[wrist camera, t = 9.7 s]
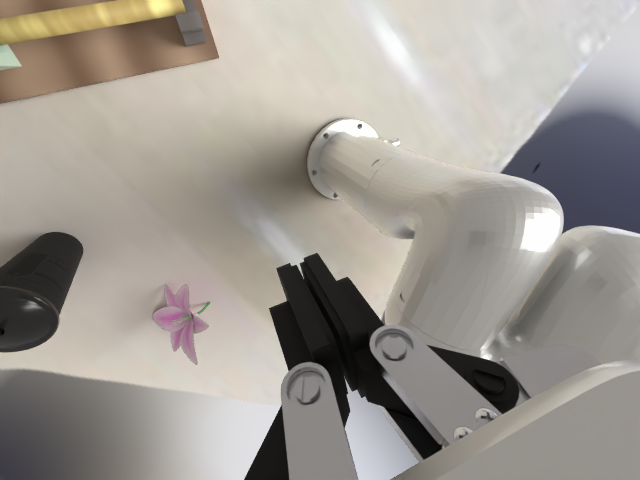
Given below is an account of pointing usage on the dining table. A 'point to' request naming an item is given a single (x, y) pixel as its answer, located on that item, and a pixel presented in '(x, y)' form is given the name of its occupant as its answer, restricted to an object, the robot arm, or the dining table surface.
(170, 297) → the lily
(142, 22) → the wooden rod slider stand
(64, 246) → the drinking cup
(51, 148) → the dining table surface
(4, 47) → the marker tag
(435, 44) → the dining table surface
